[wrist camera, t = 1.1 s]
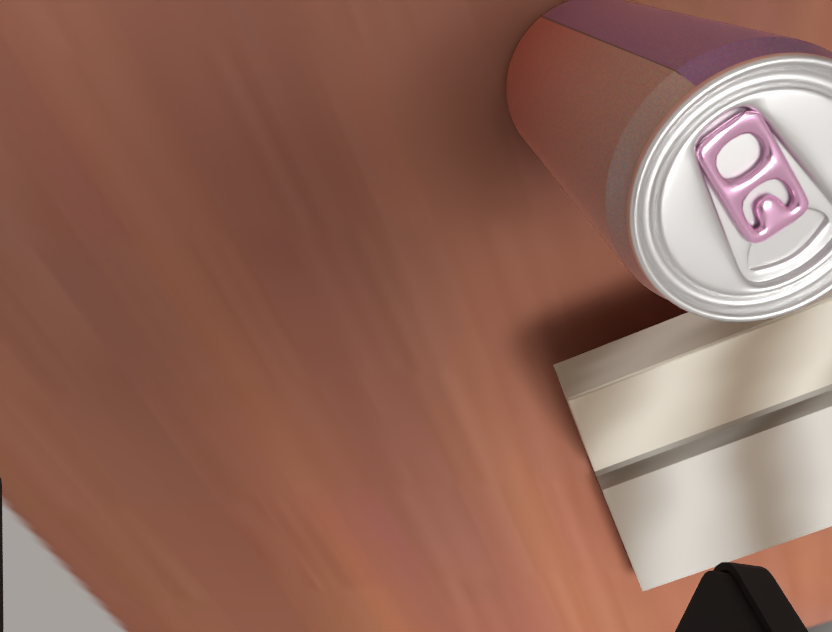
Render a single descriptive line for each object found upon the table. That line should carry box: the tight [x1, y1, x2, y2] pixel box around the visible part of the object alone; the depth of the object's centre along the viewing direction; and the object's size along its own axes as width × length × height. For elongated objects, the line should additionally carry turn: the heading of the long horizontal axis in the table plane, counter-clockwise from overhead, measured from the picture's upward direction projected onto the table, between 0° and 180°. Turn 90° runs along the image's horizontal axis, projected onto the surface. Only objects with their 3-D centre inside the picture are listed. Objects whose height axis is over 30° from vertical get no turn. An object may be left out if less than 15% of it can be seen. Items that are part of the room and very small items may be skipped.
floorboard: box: [588, 384, 832, 591], centre depth 37 cm, size 15×8×2 cm, turn 113°
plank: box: [553, 291, 832, 471], centre depth 31 cm, size 15×8×2 cm
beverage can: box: [506, 0, 832, 322], centre depth 22 cm, size 6×6×15 cm
